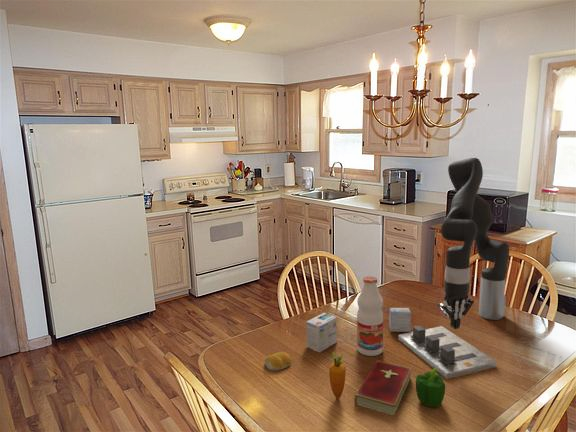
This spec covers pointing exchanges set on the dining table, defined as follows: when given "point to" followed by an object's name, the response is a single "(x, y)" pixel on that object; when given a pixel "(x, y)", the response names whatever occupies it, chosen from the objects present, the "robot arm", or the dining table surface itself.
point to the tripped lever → (447, 354)
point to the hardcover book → (383, 387)
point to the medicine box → (399, 319)
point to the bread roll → (278, 361)
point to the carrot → (337, 376)
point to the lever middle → (432, 343)
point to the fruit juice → (370, 319)
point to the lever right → (418, 333)
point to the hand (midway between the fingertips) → (455, 327)
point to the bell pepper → (430, 388)
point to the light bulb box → (321, 332)
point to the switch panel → (464, 353)
